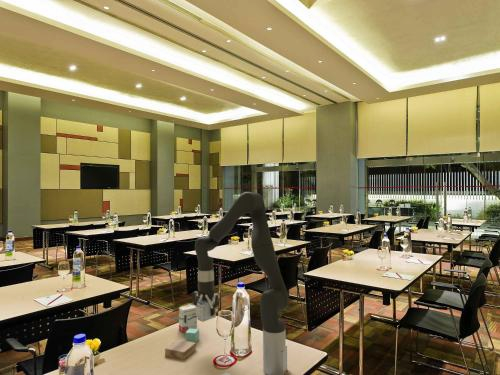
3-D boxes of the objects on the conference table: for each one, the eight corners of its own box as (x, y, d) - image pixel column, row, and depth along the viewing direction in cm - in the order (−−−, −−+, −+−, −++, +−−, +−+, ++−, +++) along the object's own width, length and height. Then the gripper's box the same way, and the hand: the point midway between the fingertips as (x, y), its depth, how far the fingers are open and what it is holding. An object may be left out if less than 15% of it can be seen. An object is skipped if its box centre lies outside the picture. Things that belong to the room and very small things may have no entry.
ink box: (182, 332, 187) (182, 309, 187) (178, 329, 191) (178, 307, 191) (197, 328, 191) (197, 306, 191) (193, 325, 196) (193, 304, 195)
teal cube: (198, 339, 179) (198, 329, 179) (195, 343, 174) (195, 333, 174) (189, 338, 180) (189, 328, 180) (185, 342, 175) (185, 332, 175)
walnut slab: (195, 350, 167) (195, 342, 167) (184, 360, 158) (184, 352, 158) (177, 346, 171) (177, 339, 171) (165, 356, 162) (165, 348, 162)
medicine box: (210, 315, 174) (209, 297, 174) (216, 317, 171) (215, 299, 171) (196, 319, 168) (196, 301, 168) (202, 322, 165) (202, 303, 165)
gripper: (223, 278, 170) (223, 314, 170) (196, 275, 176) (197, 310, 176) (215, 282, 163) (216, 319, 163) (188, 279, 169) (188, 315, 169)
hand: (206, 314), depth 169 cm, fingers closed on medicine box, 5 cm apart
